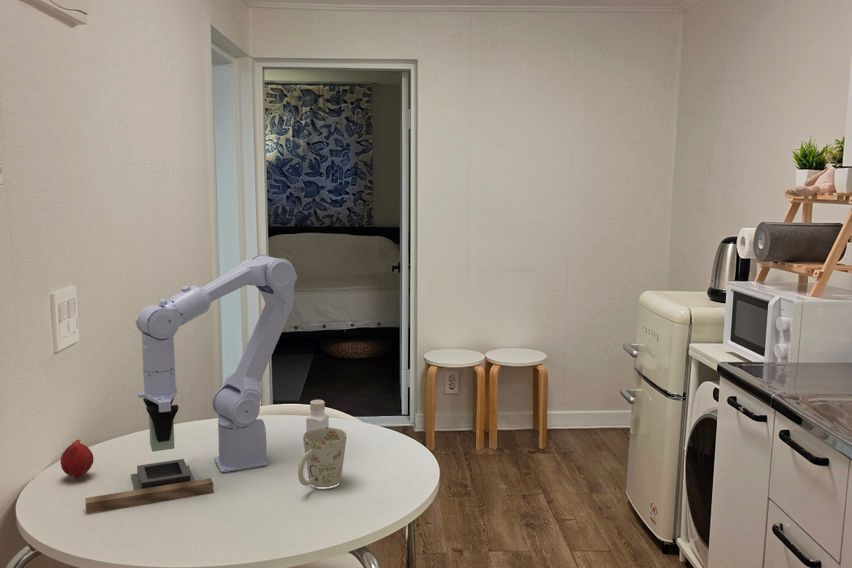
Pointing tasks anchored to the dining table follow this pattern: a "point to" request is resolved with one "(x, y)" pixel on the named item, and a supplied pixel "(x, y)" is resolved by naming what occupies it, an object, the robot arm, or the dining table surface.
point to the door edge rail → (148, 495)
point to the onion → (76, 459)
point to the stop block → (160, 445)
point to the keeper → (161, 474)
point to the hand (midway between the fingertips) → (162, 437)
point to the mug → (323, 457)
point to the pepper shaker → (317, 416)
